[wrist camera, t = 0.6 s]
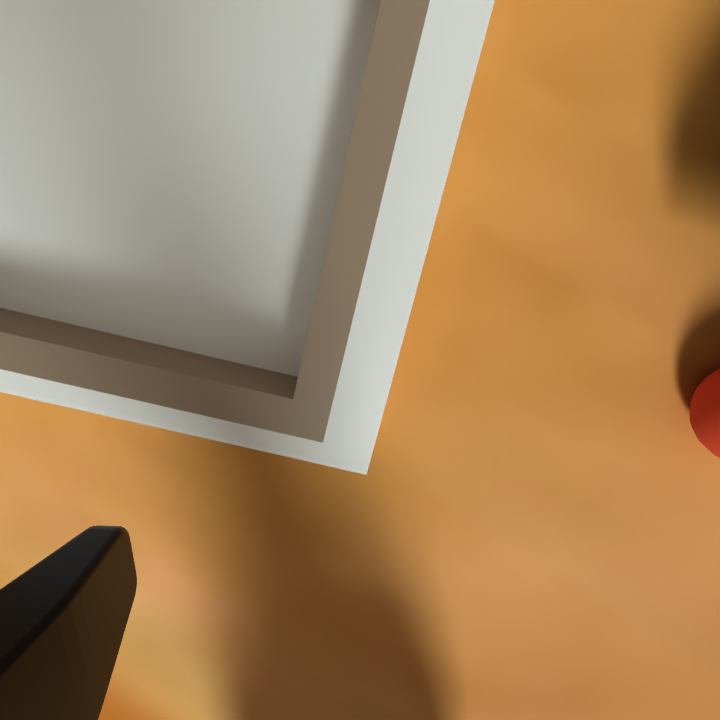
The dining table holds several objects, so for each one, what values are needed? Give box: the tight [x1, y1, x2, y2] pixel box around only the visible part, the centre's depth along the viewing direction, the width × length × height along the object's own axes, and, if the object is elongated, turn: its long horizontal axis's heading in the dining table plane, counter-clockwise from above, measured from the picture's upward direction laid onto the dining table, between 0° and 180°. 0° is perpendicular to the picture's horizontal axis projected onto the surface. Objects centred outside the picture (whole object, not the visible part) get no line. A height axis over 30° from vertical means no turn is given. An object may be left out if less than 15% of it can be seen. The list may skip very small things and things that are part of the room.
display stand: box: [0, 0, 495, 475], centre depth 19 cm, size 18×18×3 cm
